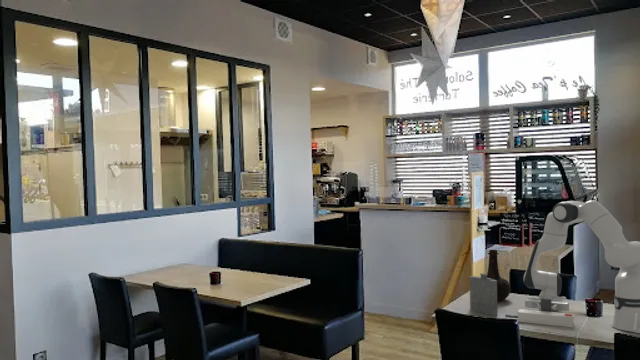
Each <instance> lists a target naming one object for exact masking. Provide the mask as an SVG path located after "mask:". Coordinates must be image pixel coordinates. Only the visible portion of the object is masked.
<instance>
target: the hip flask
mask: <svg viewBox="0 0 640 360" xmlns="http://www.w3.org/2000/svg"><path fill="white" fill-rule="evenodd" d="M487 275H488V274H487V272H485V273H484V272H482V273H481V272H480V275H479V276H476V275H470V276H469V300H470V301H469V303H470V304H469V306H470V307H469V308H470V309H469V310H470V311H472V312H473V311H474V312H476V313H477V312H478V313H482V314H484V315H485V314H486V315H489V316H492V317H493V316H494V317H497V316H498V301H497V280H493V279H491V278H487Z"/></svg>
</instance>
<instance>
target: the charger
mask: <svg viewBox="0 0 640 360" xmlns="http://www.w3.org/2000/svg"><path fill="white" fill-rule="evenodd" d="M540 311H546V312H553V310H551V297H542V296H541V309H540Z"/></svg>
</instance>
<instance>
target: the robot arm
mask: <svg viewBox="0 0 640 360" xmlns="http://www.w3.org/2000/svg"><path fill="white" fill-rule="evenodd" d="M583 222H585V223H586V224H587V225H588V226H589V228H590V229H591V230H592V232H593V233H594V234H595V236H597V238H598V240H600V242H601V244H602V245H603V248H604V258H605V262H607V264H608V265H610V266H611V267H615V268H619V271H618V273H617V275H616V276H615V279H614V284H615V285H614V286H615V287H614V290H615V291H614V292H615V293H614V297H613V299H614V300H613V302H614V303H613V306H614V315H613V319H612V324H611V327H613V328H614V329H617V330H621V331H626V332H631V333H636V334H640V241H638V240H637V241H636V240H634V241H628V239H626V238H625V236H624V233H623V227H622V225H621V223H620V222H618V220H617V219H616V218H615V217H614V216H613V214H611V212H610V211H609V210H608V209H607V208H606V207H604V205H602V203H600V202H598V201H597V200H594V199H592V200H588V201H583V200H578V201H577V200H567V201H561V202H558V203H556V204H555V205H554V206H553V208H552V211H551V212H549V213H548V214H547V216H546V219H545V223H544V228H543V233H542V236H541V238H540V239H537V240H536V241H535V244H534V247H533V249H532V251H531V255H530V259H529V262H528V266H527V267H526V271H525V272H524V274H523V284H524V285H525V286H526V287H527V288H528V289H537V290H541V291H540V293H539V296H538V297H527V298H525V300H524V307H525V308H530V309H538V310H541V296H542V297H551V310H552V311H562V312H569V311H570V302H569V300H568V299H567V297H566V296H563V295H560V294H561V292H562V288H563V287H562V286H563V279H562V277H561V276H560V274H559V273H556V272H552V271H545V270H538V269H537V268H536V267H537V265H538V262H539V259H540V256H541V255H543V254H544V253H547V252H552V251H556V250H559V249H561V248H563V247H564V246H565V244H566V242H567V238H568V229H569V225H571V224H576V223H577V224H578V223H583Z"/></svg>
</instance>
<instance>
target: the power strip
mask: <svg viewBox="0 0 640 360" xmlns="http://www.w3.org/2000/svg"><path fill="white" fill-rule="evenodd" d="M505 318H508V319H509V318H510V319H511V318H512V319H517V321H518V320H519V322H518V323H529V324H538V325H545V326H546V325H549V326H557V327H568V328H574V325H575V322H574V321H575V319H574V313H571V312H570V313H567V312H557V311H556V312H553V311H552V312H546V311H541V310H533V309H522V308H519V309H518V311H517V315H512V314H505Z"/></svg>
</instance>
